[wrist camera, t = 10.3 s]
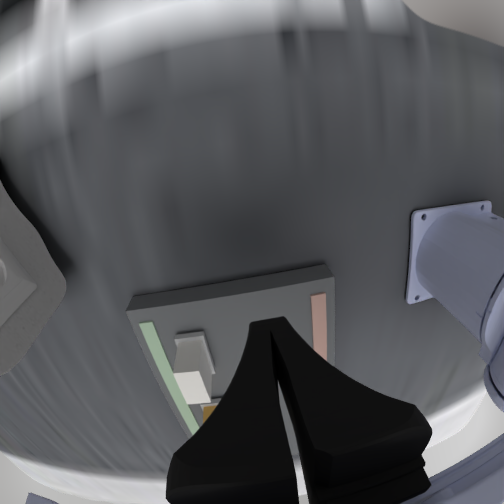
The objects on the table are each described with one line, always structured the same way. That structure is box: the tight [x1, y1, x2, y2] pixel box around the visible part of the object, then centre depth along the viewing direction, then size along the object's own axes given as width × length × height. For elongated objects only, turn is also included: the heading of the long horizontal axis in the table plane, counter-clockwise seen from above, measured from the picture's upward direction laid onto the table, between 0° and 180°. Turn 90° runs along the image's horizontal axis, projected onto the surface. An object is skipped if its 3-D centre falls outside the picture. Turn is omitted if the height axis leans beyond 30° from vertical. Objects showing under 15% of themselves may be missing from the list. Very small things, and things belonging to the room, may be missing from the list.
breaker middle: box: [200, 398, 221, 423], centre depth 21 cm, size 2×4×4 cm, turn 8°
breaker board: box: [126, 264, 335, 455], centre depth 24 cm, size 14×22×2 cm, turn 8°
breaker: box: [173, 331, 216, 405], centre depth 18 cm, size 2×4×4 cm, turn 8°
